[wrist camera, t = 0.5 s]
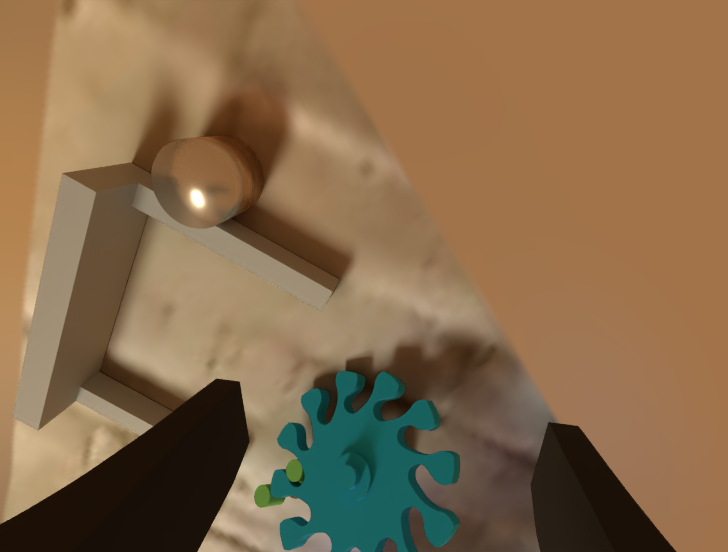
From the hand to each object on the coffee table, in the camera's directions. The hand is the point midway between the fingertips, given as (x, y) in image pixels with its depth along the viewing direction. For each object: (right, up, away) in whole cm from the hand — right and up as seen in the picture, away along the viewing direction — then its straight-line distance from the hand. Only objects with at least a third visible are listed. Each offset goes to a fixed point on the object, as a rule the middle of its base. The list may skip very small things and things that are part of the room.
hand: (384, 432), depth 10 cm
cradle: (-10, 0, +13) cm, 16 cm away
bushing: (-7, +8, +10) cm, 15 cm away
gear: (-1, -5, +14) cm, 15 cm away
